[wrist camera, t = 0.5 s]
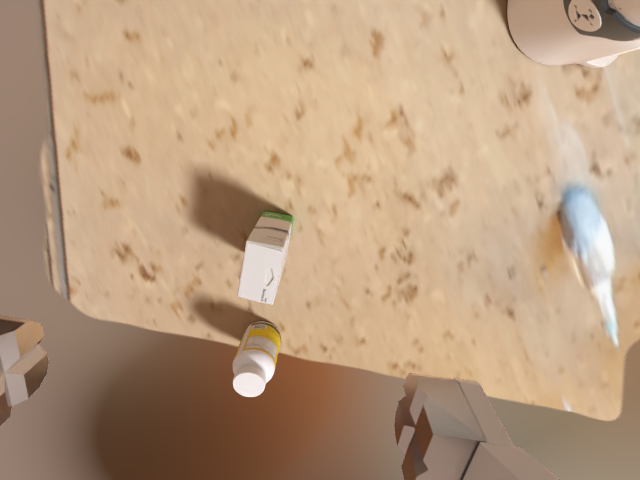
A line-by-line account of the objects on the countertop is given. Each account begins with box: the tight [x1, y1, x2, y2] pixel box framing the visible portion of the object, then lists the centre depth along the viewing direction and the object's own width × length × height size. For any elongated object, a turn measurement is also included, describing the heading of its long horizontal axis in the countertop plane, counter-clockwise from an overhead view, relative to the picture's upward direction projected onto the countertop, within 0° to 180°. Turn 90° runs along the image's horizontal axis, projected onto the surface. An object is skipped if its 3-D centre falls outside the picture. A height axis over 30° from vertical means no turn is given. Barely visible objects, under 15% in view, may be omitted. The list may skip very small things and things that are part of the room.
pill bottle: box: [233, 321, 281, 397], centre depth 55 cm, size 6×6×12 cm
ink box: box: [237, 211, 293, 304], centre depth 48 cm, size 9×5×12 cm, turn 168°
